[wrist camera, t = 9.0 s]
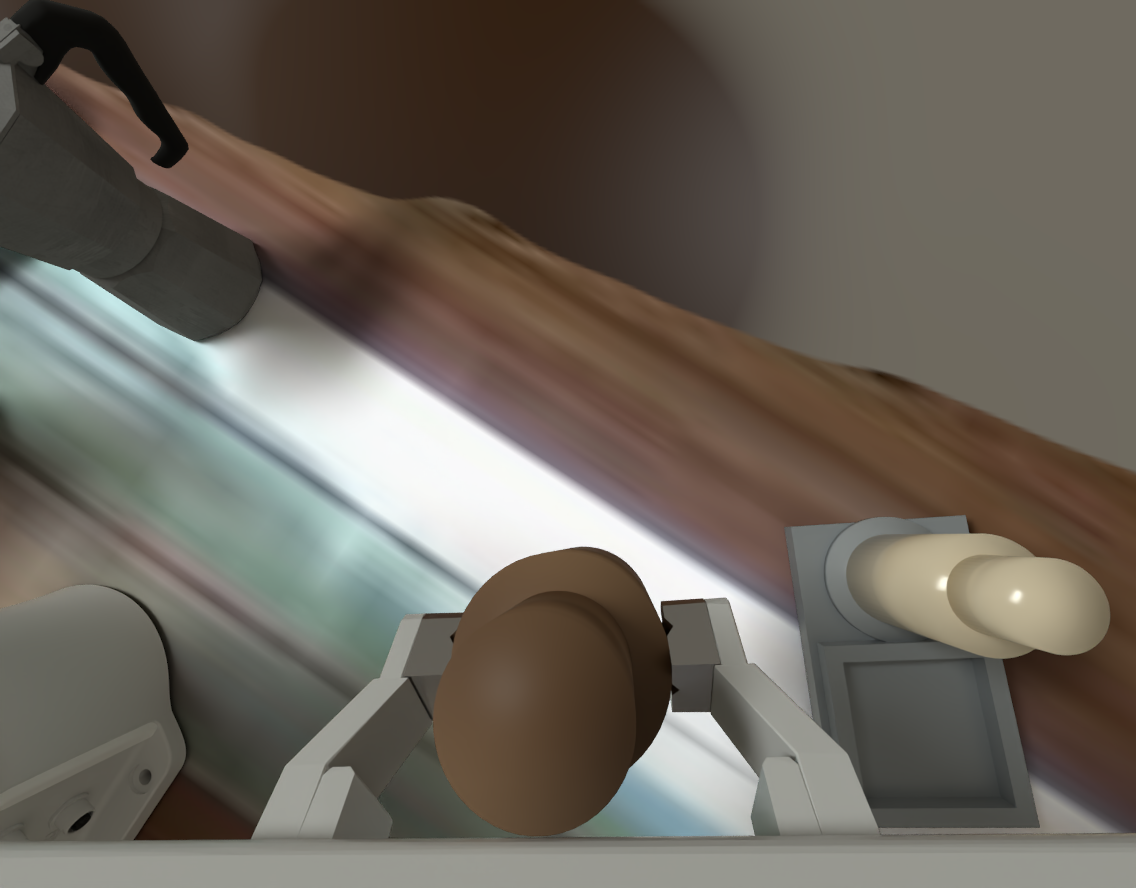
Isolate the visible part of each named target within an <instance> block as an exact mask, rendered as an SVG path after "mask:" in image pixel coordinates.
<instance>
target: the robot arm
mask: <svg viewBox="0 0 1136 888" xmlns="http://www.w3.org/2000/svg"><path fill="white" fill-rule="evenodd" d="M463 614H464V613H431V614H406V615H405V616H404V618H403V619H402V620H401V622H400V625H399V627H398V630H397V633H396V636H395V638H394V641H393V644H392V646H391V649H390V652H389V654H388V657H387V660H386V662H385V665H384V668H383V670H382V673H381V676H380V678H378V679H373V680H372V681H371V682H370V683H369V684H368V685H367V686H366V687H365V688H364V689H363V690H362V691H361V692H360V693H359V694H358V695H357V696H356V697H355V698H354V699H353V700H352V701H351V702H350V703H348V704H347V705H346V706H345V707H344V708H343V709H342V710H341V711H340V712H339V713H338V714H337V715H336V716H335V717H334V718H333V719H332V720H331V721H330V722H329V723H328V724H327V725H326V726H325V727H324V728H323V729H322V730H321V731H320V732H319V733H318V734H317V735H316V736H315V737H314V738H313V739H312V740H311V741H310V742H309V743H308V744H307V745H306V746H305V747H304V748H303V749H302V750H301V751H300V752H299V753H298V754H297V755H296V756H295V757H294V758H293V759H292V760H291V761H290V762H289V763H288V764H287V765H286V766H285V767H284V769H283V772H282V774H281V776H280V778H279V780H278V782H277V784H276V786H275V789H274V791H273V793H272V795H271V797H270V799H269V801H268V803H267V806H266V808H265V810H264V812H263V814H262V816H261V818H260V820H259V823H258V825H257V827H256V829H255V831H254V833H253V835H252V837H251V840H134V838H135V837H136V835H137V834H138V832H139V831H140V829H141V828H142V826H143V825H144V823H145V822H146V820H147V819H148V817H149V816H150V814H151V813H152V811H153V810H154V808H155V807H156V805H157V804H158V802H159V801H160V799H161V798H162V796H163V795H164V793H165V792H166V790H167V789H168V787H169V786H170V784H171V783H172V781H173V780H174V778H175V777H176V775H177V774H178V772H179V771H180V769H181V768H182V766H183V764H184V761H185V757H186V747H185V742H184V738H183V736H182V733H181V730H180V728H179V726H178V723H177V721H176V719H175V717H174V715H173V712H172V710H171V704H170V694H169V674H168V665H167V659H166V655H165V651H164V648H163V644H162V641H161V639H160V637H159V634H158V632H157V630H156V628H155V626H154V625H153V623H152V621H151V620H150V618H149V617H148V615H147V614H146V613H145V612H144V611H143V609H142V608H141V607H140V606H139V605H138V604H136V603H135V602H134V601H133V600H132V599H130V598H129V597H127V596H126V595H124V594H122V593H120V592H118V591H116V590H114V589H111V588H108V587H104V586H98V585H76V586H71V587H67V588H63V589H60V590H57V591H55V592H52V593H49V594H47V595H44V596H41V597H38V598H35V599H32V600H29V601H25V602H22V603H19V604H15V605H12V606H8V607H4V608H1V609H0V888H1136V833H1079V834H938V835H881V834H880V831H879V829H878V826H877V824H876V822H875V819H874V817H873V814H872V812H871V809H870V807H869V805H868V802H867V800H866V797H865V795H864V792H863V790H862V788H861V785H860V783H859V780H858V778H857V775H856V773H855V771H854V768H853V766H852V763H851V761H850V758H849V756H848V754H847V753H846V752H845V751H844V750H843V749H842V748H841V747H840V746H839V745H838V744H837V743H836V742H835V741H834V740H833V739H832V738H831V737H830V736H829V735H828V734H827V733H826V732H825V731H823V730H822V729H821V728H820V727H819V726H818V725H817V724H816V723H815V722H814V721H813V720H812V719H811V718H810V717H809V716H808V715H807V714H806V713H805V712H804V711H803V710H802V709H801V708H800V707H799V706H798V705H797V704H796V703H795V702H794V701H793V700H792V699H791V698H790V697H788V696H787V695H786V694H785V693H784V692H783V691H782V690H781V689H780V688H779V687H778V686H777V685H776V684H775V683H774V682H773V681H772V680H771V679H770V678H769V677H768V676H767V675H766V674H765V673H764V672H763V671H762V670H761V669H760V668H759V667H758V666H757V665H756V664H748V663H747V659H746V656H745V653H744V649H743V646H742V643H741V639H740V636H739V633H738V629H737V626H736V623H735V619H734V616H733V613H732V609H731V606H730V603H729V601H728V600H727V598H714V599H689V600H674V601H661V615H662V626H663V628H664V631H665V634H666V636H667V640H668V644H669V652H670V662H671V673H672V687H671V695H670V700H671V706H672V712H711V715H712V716H713V718H714V719H715V720H716V722H717V723H718V724H719V726H720V727H721V728H722V729H723V731H724V732H725V733H726V735H727V736H728V737H729V739H730V740H731V741H732V743H733V744H734V745H735V747H736V748H737V749H738V751H739V752H740V753H741V755H742V756H743V757H744V758H745V760H746V761H747V762H748V764H749V765H750V766H751V768H752V769H753V770H754V772H755V773H756V774H757V776H758V777H759V782H758V787H757V791H756V796H755V800H754V805H753V809H752V814H751V820H752V824H753V829H754V833H755V836H658V837H518V838H388V837H389V834H390V830H391V826H392V822H393V821H392V819H391V816H390V814H389V813H388V812H387V811H386V809H385V808H384V807H383V806H382V805H381V803H380V802H379V801H378V800H377V798H378V797H379V795H380V794H381V793H382V791H383V790H384V788H385V787H386V786H387V784H388V783H389V782H390V780H391V779H392V778H393V776H394V775H395V773H396V772H397V771H398V769H399V768H400V767H401V765H402V764H403V763H404V761H405V760H406V758H407V757H408V756H409V754H410V753H411V752H412V750H413V749H414V747H415V746H416V745H417V743H418V742H419V741H420V739H421V738H422V737H423V735H424V734H425V732H426V731H427V730H428V728H429V727H430V726H431V724H432V721H433V712H434V702H435V698H436V693H437V688H438V685H439V682H440V679H441V676H442V674H443V672H444V670H445V668H446V666H447V664H448V662H449V661H450V659H451V655H452V647H453V643H454V638H455V634H456V631H457V628H458V625H459V622H460V620H461V618H462V616H463ZM150 772H151V773H150ZM151 775H152V776H151Z"/></svg>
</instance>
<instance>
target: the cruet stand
mask: <svg viewBox="0 0 1136 888" xmlns="http://www.w3.org/2000/svg"><path fill="white" fill-rule="evenodd" d="M784 528H785V535H786V542H787V548H788V555H789V562H790V568H791V575H792V582H793V588H794V595H795V602H796V608H797V615H798V622H799V629H800V635H801V642H802V649H803V655H804V662H805V669H806V675H807V682H808V689H809V695H810V702H811V709H812V715H813V721H814V722H815V723H816V724H817V725H818V726H819V727H820V728H821V729H822V730H823V731H825V732H826V733H827V734H828V735H829V736H830V737H831V738H832V739H833V740H834V741H835V742H836V743H837V744H838V745H839V746H840V747H841V748H842V749H843V750H844V751H845V752H846V753H847V754H848V756H849V758H850V761H851V763H852V766H853V768H854V771H855V773H856V775H857V778H858V780H859V783H860V785H861V788H862V790H863V792H864V795H865V797H866V800H867V802H868V805H869V807H870V809H871V812H872V814H873V817H874V819H875V822H876V824H877V826H878V827H881V828H1040V825H1039V821H1038V816H1037V812H1036V807H1035V803H1034V798H1033V794H1032V789H1031V785H1030V781H1029V776H1028V772H1027V767H1026V763H1025V758H1024V754H1023V749H1022V745H1021V740H1020V736H1019V731H1018V727H1017V722H1016V718H1015V714H1014V709H1013V705H1012V700H1011V696H1010V691H1009V687H1008V682H1007V678H1006V673H1005V669H1004V664H1003V660H1002V659H1006V658H1014V657H1018V656H1022V655H1024V654H1027V653H1029V652H1031V651H1032V650H1034V649H1039V650H1042V651H1046V652H1049V653H1053V654H1058V655H1076V654H1080V653H1084V652H1086V651H1089V650H1090V649H1092V648H1094V647H1095V646H1096V645H1097V644H1099V643H1100V641H1101V640H1102V639H1103V638H1104V636H1105V634H1106V632H1107V630H1108V627H1109V623H1110V608H1109V603H1108V600H1107V597H1106V595H1105V593H1104V591H1103V589H1102V588H1101V586H1100V585H1099V584H1098V582H1097V581H1096V580H1095V579H1094V578H1093V577H1092V576H1091V575H1090V574H1089V573H1087V572H1086V571H1085V570H1084V569H1082V568H1080V567H1079V566H1077V565H1075V564H1073V563H1070V562H1068V561H1065V560H1060V559H1054V558H1040V557H1035V556H1034V555H1033V554H1032V553H1030V552H1029V551H1028V550H1027V549H1025V548H1024V547H1022V546H1021V545H1019V544H1017V543H1015V542H1013V541H1011V540H1009V539H1006V538H1003V537H1000V536H996V535H991V534H969V529H968V525H967V520H966V516H965V515H963V516H947V517H932V518H916V519H900V518H893V517H876V518H868V519H864V520H861V521H858V522H856V523H841V524H825V525H810V526H795V527H784Z"/></svg>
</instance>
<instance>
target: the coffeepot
mask: <svg viewBox="0 0 1136 888" xmlns="http://www.w3.org/2000/svg"><path fill="white" fill-rule="evenodd" d="M74 47H80V48H84V49H88V50H90V51H91V52H92V53H93V55H94V57H95V59H96V61H97V63H98V64H99V66H100V68H101V69H102V70H103V71H104V72H105V74H106V75H107V76H108V77H109V78H110V79H111V81H112V82H113V83H114V84H115V85H116V86H117V87H118V88H119V89H120V90H121V91H122V92H123V93H124V94H125V95H126V97H127V98H128V100H129V102H130V103H131V106H132V108H133V110H134V112H135V113H136V115H137V117H138V118H139V119H140V120H141V121H142V122H143V123H144V124H145V125H146V126H147V127H148V128H149V129H150V130H151V131H153V132H154V133H155V134H156V135H157V136H158V137H159V138H160V141H161V147H160V149H159V150H158V152H157V153H156V154H155V156H154V157H151V160H152V162H153V163H155V164H157V165H159V166H161V167H164V168H171V167H172V166H174V165H175V164H176V163H177V162H178V161H180V160H181V159H182V157H183V156H184V155H185V154H186V152H187V151H188V149H189V148H188V143H187V142H186V140H185V138H184V137H183V135H182V133H181V132H180V130H179V129H178V127H177V125H176V124H175V122H174V121H173V119H172V117H171V116H170V114H169V113H168V111H167V110H166V108H165V106H164V105H163V103H162V101H161V100H160V99H159V97H158V95H157V93H156V92H155V90H154V89H153V87H152V85H151V84H150V82H149V81H148V79H147V78H146V76H145V74H144V73H143V71H142V69H141V68H140V66H139V65H138V63H137V61H136V59H135V58H134V56H133V54H132V53H131V51H130V49H129V48H128V46H127V44H126V42H125V41H124V39H123V38H122V37H121V35H120V34H119V32H118V31H117V30H116V29H115V28H114V27H113V26H112V25H111V24H110V23H108V21H107V20H105V19H104V18H103V17H101V16H99V15H97V14H95V13H93V12H91V11H88V10H84V9H80V8H77V7H72V6H69V5H65V4H61V3H57V2H54V1H50V0H29V1H28V2H27V3H26V4H24V5H23V6H22V7H21V8H20V9H19V10H18V11H17V12H16V13H15V14H14V15H13V16H12V17H11V18H10V20H9V19H8V18H7V17H6V18H5V19H3V20H2V21H1V22H0V247H3V248H6V249H9V250H12V251H15V252H18V253H20V254H23V255H26V256H29V257H32V258H35V259H38V260H41V261H44V262H47V263H49V264H52V265H55V266H58V267H61V268H64V269H67V270H71V269H74V270H76V271H78V272H80V274H82V275H83V276H85V277H86V278H88V279H89V280H91V281H93V282H94V283H96V284H97V285H99V286H100V287H102V288H103V289H105V290H106V291H108V292H109V293H111V294H113V295H114V296H116V297H117V298H119V299H120V300H122V301H123V302H125V303H126V304H128V305H129V306H131V307H132V308H134V309H136V310H137V311H139V312H140V313H142V314H143V315H145V316H146V317H148V318H149V319H151V320H152V321H154V322H155V323H157V324H159V325H161V326H163V327H165V328H167V329H169V330H171V331H174V332H176V333H178V334H180V335H182V336H184V337H186V338H189V339H191V340H193V341H197V340H201V339H204V338H208V337H211V336H214V335H218V334H220V333H222V332H224V331H226V330H228V329H230V328H231V327H232V326H234V325H235V324H237V323H238V322H239V321H240V320H241V319H242V318H243V317H244V316H245V315H246V314H247V312H248V311H249V309H250V308H251V306H252V305H253V303H254V301H255V299H256V297H257V295H258V292H259V288H260V284H261V282H262V273H261V266H260V261H259V259H258V256H257V254H256V252H255V250H254V246H253V242H252V241H251V240H249V239H248V238H246V237H244V236H242V235H240V234H238V233H237V232H235V231H233V230H231V229H229V228H227V227H226V226H224V225H222V224H220V223H218V222H216V221H214V220H213V219H211V218H209V217H207V216H205V215H203V214H202V213H200V212H198V211H196V210H194V209H192V208H191V207H189V206H187V205H185V204H183V203H181V202H180V201H178V200H176V199H174V198H172V197H170V196H168V195H166V194H164V193H162V192H160V191H158V190H156V189H154V188H152V187H149V186H147V185H145V184H144V183H142V182H141V181H140V180H138V179H137V178H136V175H135V172H134V169H133V167H132V166H131V165H130V164H129V163H128V162H127V161H126V160H125V159H124V158H122V157H121V156H120V155H119V154H118V153H117V152H116V151H115V150H114V149H113V148H112V147H111V146H110V145H109V144H108V143H107V142H105V141H104V140H103V139H102V138H101V137H100V136H99V135H98V134H97V133H96V132H95V131H94V130H93V129H92V128H91V127H89V126H88V125H87V124H86V123H85V122H84V121H83V120H82V119H81V118H80V117H79V116H78V115H77V114H76V113H75V112H74V111H72V110H71V109H70V108H69V107H68V106H67V105H66V104H65V103H64V102H63V101H62V100H61V99H60V98H59V97H58V96H56V95H55V94H54V93H53V92H52V91H51V90H50V89H49V88H48V87H47V86H46V85H45V84H44V83H45V82H46V81H47V80H48V79H49V78H50V76H51V75H52V74H53V73H54V72H55V70H56V69H57V68H58V66H59V64H60V62H61V60H62V58H63V57H64V55H65V54H66V53H67V52H68V51H69V50H70V49H71V48H74Z"/></svg>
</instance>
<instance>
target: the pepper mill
mask: <svg viewBox="0 0 1136 888" xmlns="http://www.w3.org/2000/svg"><path fill="white" fill-rule="evenodd" d="M671 687H672V673H671V662H670V652H669V644H668V640H667V636H666V634H665V631H664V628H663V626H662V623H661V621H660V618H659V616H658V614H657V612H656V610H655V608H654V606H653V604H652V601H651V599H650V597H649V595H648V593H647V591H646V589H645V587H644V585H643V583H642V581H641V579H640V578H639V576H638V575H637V574H636V572H635V571H634V570H633V569H632V568H631V567H630V566H629V565H628V564H627V563H626V562H625V561H624V560H622V559H621V558H619V557H618V556H616V555H614V554H612V553H610V552H608V551H605V550H602V549H598V548H593V547H575V548H569V549H564V550H558V551H553V552H547V553H542V554H537V555H533V556H529V557H526V558H524V559H521V560H518V561H516V562H514V563H512V564H510V565H508V566H507V567H505V568H503V569H502V570H500V571H499V572H498V573H496V574H495V575H493V576H492V577H491V578H490V579H489V580H488V581H487V582H486V583H485V584H484V585H483V586H482V587H481V588H480V589H479V591H478V592H477V593H476V594H475V595H474V597H473V598H472V600H471V601H470V603H469V604H468V606H467V608H466V609H465V611H464V614H463V616H462V618H461V620H460V622H459V625H458V628H457V631H456V634H455V638H454V643H453V647H452V655H451V659H450V661H449V662H448V664H447V666H446V668H445V670H444V672H443V674H442V676H441V679H440V682H439V685H438V688H437V693H436V698H435V702H434V712H433V732H434V739H435V746H436V750H437V754H438V757H439V761H440V763H441V766H442V768H443V771H444V773H445V775H446V777H447V779H448V781H449V783H450V785H451V786H452V788H453V789H454V791H455V792H456V793H457V795H458V796H459V798H460V799H461V800H462V801H463V802H464V803H465V804H466V805H467V806H468V807H469V809H471V810H472V811H473V812H474V813H475V814H477V815H478V816H479V817H480V818H482V819H483V820H485V821H487V822H488V823H490V824H491V825H493V826H495V827H498V828H500V829H502V830H505V831H507V832H511V833H515V834H518V835H526V836H549V835H554V834H560V833H563V832H566V831H569V830H572V829H574V828H576V827H578V826H580V825H582V824H584V823H586V822H587V821H589V820H590V819H591V818H593V817H594V816H595V815H597V814H598V813H599V812H600V811H601V810H602V809H603V808H604V807H605V806H606V805H607V804H608V803H609V802H610V800H611V799H612V798H613V797H614V795H615V794H616V793H617V791H618V789H619V788H620V786H621V784H622V782H623V781H624V779H625V776H626V774H627V772H628V769H629V768H630V767H631V766H632V765H633V764H634V763H635V762H636V761H637V760H638V759H639V758H640V757H641V756H642V755H643V754H644V753H645V751H646V750H647V749H648V748H649V746H650V745H651V744H652V742H653V740H654V739H655V737H656V735H657V733H658V732H659V730H660V728H661V725H662V723H663V720H664V718H665V715H666V712H667V708H668V704H669V701H670V695H671Z"/></svg>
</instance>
